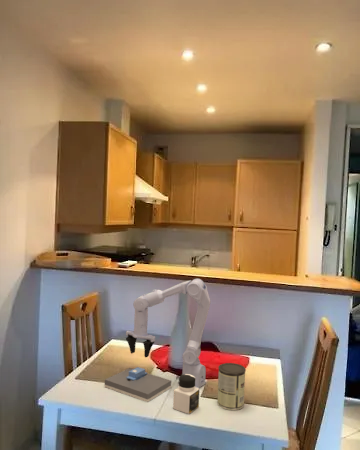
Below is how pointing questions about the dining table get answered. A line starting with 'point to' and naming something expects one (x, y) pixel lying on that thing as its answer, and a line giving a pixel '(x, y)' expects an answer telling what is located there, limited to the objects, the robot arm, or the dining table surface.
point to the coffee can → (231, 386)
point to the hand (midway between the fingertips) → (139, 354)
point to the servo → (136, 374)
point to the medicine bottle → (186, 394)
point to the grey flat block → (138, 385)
